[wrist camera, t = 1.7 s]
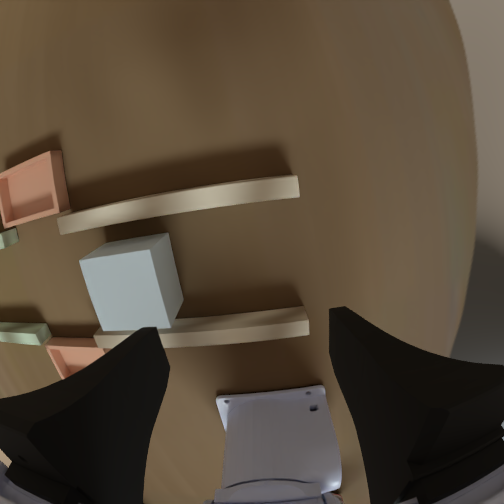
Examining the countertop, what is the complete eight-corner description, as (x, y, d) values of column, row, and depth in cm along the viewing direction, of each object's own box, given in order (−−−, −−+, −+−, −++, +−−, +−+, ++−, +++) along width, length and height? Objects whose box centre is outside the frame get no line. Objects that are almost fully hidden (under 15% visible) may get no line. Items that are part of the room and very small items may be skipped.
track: (292, 174, 18) (297, 176, 16) (304, 319, 21) (309, 334, 19) (-29, 242, 19) (-42, 248, 17) (1, 331, 22) (-8, 340, 20)
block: (168, 231, 19) (149, 249, 15) (184, 298, 21) (171, 327, 17) (106, 242, 19) (78, 260, 16) (124, 304, 21) (103, 331, 17)
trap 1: (109, 337, 22) (102, 347, 20) (126, 377, 23) (121, 388, 22) (52, 336, 22) (44, 345, 21) (70, 373, 23) (64, 382, 22)
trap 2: (61, 150, 17) (49, 150, 16) (70, 208, 18) (59, 212, 17) (6, 174, 17) (-5, 176, 16) (15, 224, 19) (4, 228, 17)
